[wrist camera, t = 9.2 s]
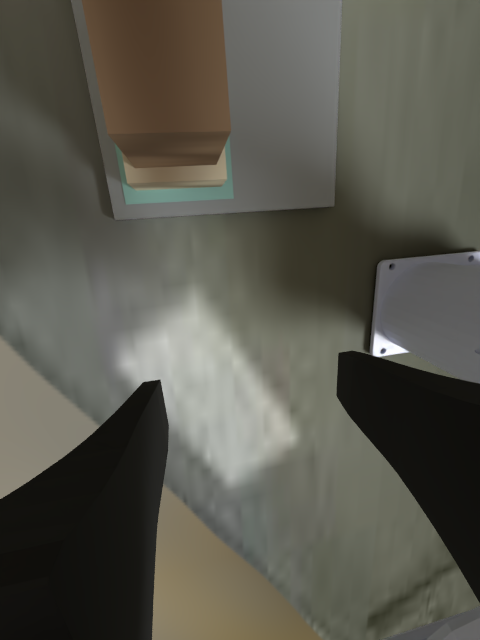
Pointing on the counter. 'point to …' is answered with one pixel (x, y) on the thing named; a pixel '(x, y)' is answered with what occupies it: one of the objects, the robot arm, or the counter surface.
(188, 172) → the base block
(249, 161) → the board
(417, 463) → the robot arm
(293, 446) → the counter surface
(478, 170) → the counter surface
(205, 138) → the walnut block
